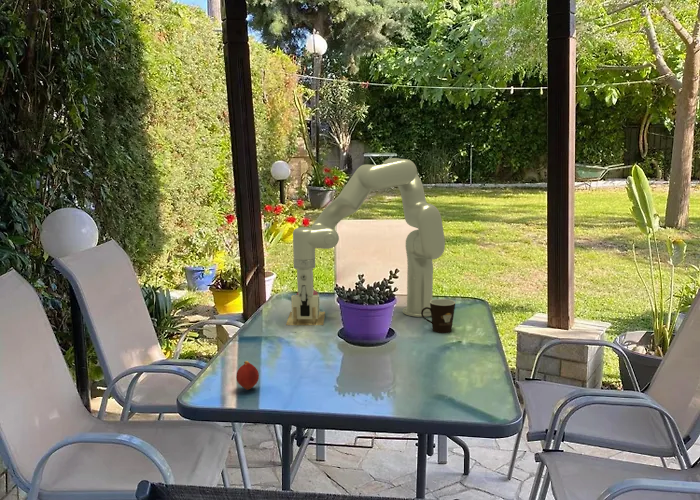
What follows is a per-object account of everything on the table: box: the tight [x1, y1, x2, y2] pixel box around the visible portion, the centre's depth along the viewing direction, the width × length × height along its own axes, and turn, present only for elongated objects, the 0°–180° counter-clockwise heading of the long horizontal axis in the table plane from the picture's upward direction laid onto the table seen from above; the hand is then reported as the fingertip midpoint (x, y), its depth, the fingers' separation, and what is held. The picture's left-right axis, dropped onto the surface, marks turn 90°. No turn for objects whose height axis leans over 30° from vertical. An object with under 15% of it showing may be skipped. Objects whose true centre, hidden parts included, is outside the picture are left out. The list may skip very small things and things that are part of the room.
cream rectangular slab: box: [290, 294, 319, 319], centre depth 224 cm, size 9×3×8 cm, turn 90°
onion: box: [236, 360, 259, 391], centre depth 169 cm, size 6×6×8 cm
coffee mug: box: [421, 298, 456, 334], centre depth 220 cm, size 12×9×10 cm
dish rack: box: [285, 307, 326, 326], centre depth 230 cm, size 13×17×8 cm
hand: (305, 314), depth 225 cm, fingers closed on cream rectangular slab, 2 cm apart
